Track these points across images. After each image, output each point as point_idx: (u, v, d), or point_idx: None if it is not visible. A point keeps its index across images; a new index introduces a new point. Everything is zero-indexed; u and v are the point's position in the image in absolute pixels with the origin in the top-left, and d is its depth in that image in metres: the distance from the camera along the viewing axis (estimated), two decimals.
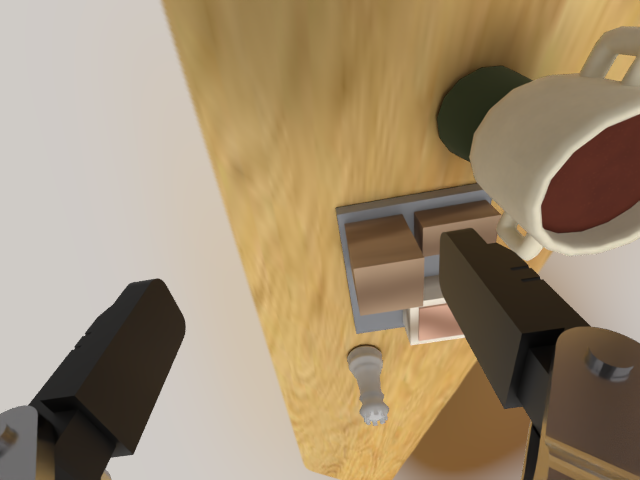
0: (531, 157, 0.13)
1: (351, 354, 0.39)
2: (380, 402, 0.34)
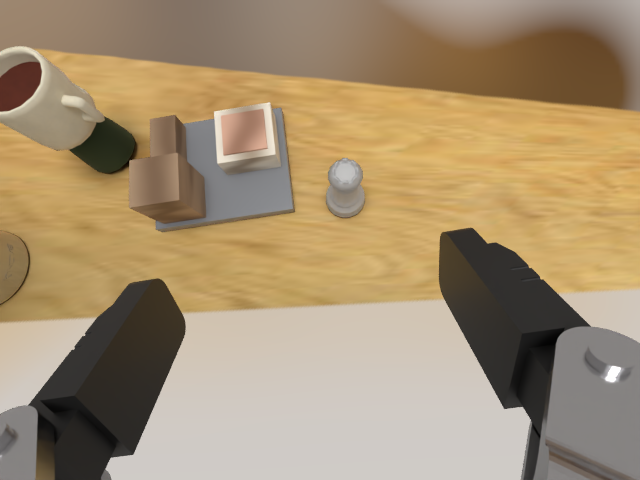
0: (3, 122, 0.28)
1: (335, 213, 0.35)
2: None
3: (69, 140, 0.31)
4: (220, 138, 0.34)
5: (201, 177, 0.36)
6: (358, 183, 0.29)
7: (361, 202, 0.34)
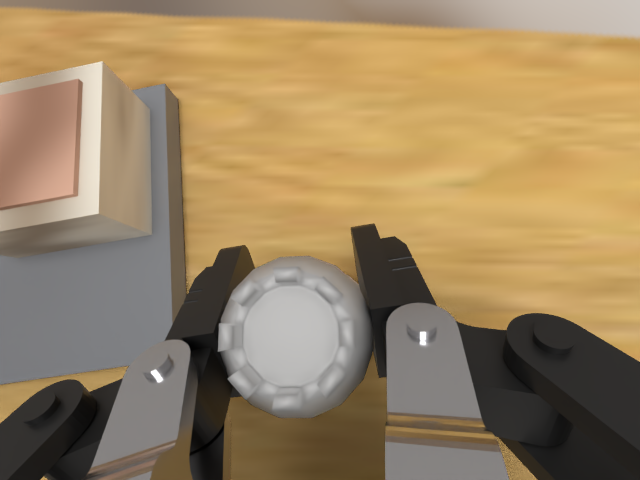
0: None
1: None
2: None
3: None
4: None
5: None
6: (354, 382, 0.06)
7: None
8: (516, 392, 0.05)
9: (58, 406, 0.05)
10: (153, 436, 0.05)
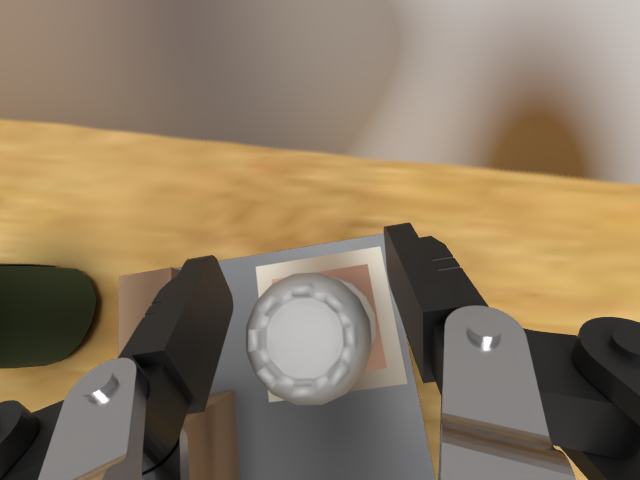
0: None
1: None
2: None
3: None
4: None
5: (229, 401, 0.17)
6: (356, 376, 0.08)
7: None
8: (594, 401, 0.05)
9: None
10: (100, 455, 0.05)
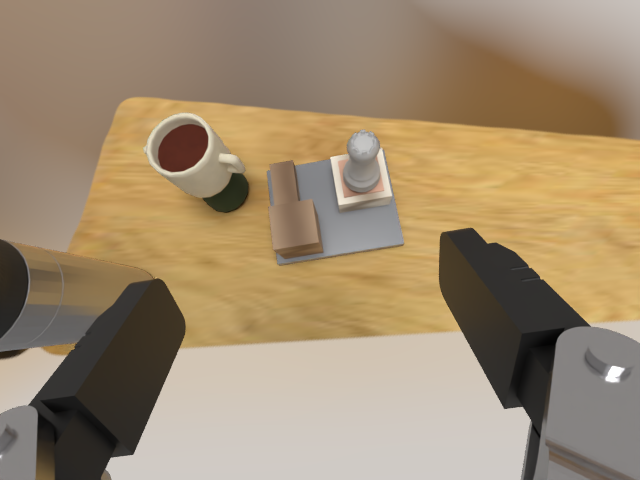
0: (172, 180, 0.32)
1: (352, 188, 0.37)
2: None
3: (214, 189, 0.35)
4: (339, 181, 0.38)
5: (317, 216, 0.40)
6: (376, 153, 0.30)
7: (377, 176, 0.36)
8: None
9: None
10: None
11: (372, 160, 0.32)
